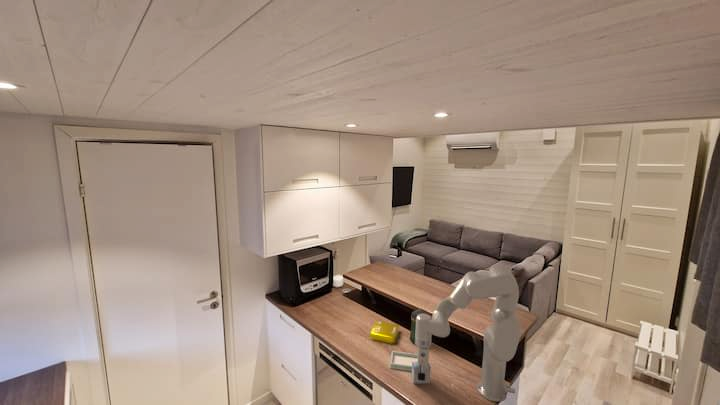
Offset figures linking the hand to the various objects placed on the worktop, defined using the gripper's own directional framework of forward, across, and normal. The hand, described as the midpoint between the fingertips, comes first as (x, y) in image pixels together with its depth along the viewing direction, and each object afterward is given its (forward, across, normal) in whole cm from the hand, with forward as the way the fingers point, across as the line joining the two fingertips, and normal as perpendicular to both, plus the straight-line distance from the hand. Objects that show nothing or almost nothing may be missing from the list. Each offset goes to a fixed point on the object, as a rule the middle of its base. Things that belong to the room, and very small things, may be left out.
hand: (421, 375), depth 140 cm
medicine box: (+3, 0, 0) cm, 3 cm away
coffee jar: (+3, +32, +1) cm, 32 cm away
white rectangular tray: (+3, +11, +8) cm, 14 cm away
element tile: (+4, +34, +21) cm, 40 cm away
